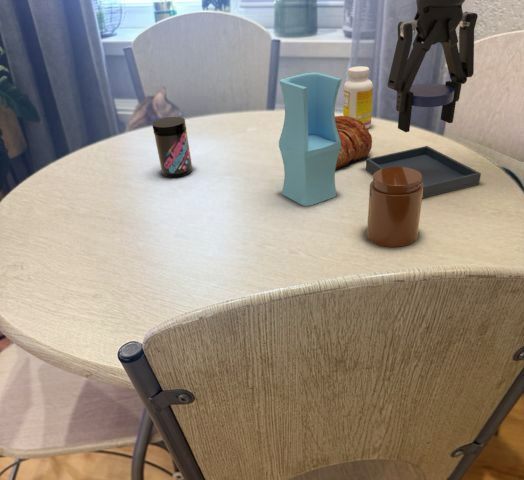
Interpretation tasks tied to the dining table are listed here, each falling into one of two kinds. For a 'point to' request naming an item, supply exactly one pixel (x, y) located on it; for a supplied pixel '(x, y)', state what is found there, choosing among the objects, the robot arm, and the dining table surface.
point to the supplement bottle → (358, 95)
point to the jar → (394, 206)
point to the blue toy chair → (309, 137)
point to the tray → (429, 169)
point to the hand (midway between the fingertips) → (425, 125)
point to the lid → (431, 94)
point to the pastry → (352, 140)
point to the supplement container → (172, 146)
